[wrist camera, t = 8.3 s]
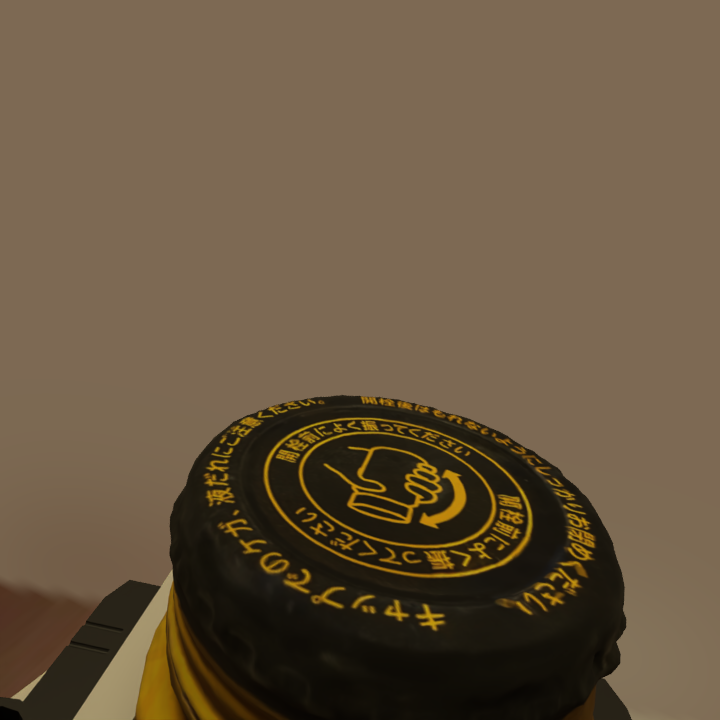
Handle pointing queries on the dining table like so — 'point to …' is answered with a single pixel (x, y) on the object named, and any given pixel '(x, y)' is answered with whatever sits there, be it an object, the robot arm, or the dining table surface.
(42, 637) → the dining table surface
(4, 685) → the dining table surface
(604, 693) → the robot arm
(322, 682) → the condiment
